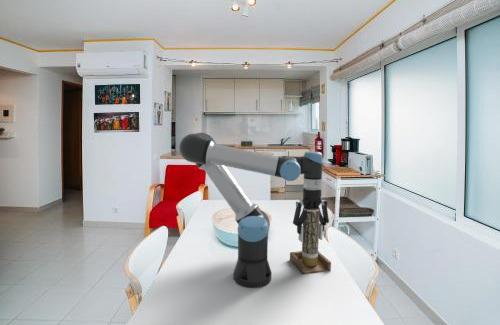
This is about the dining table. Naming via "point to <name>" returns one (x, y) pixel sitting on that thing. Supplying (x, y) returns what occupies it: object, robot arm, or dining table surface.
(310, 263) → the paper tube
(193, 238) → the dining table surface
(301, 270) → the wooden tray
